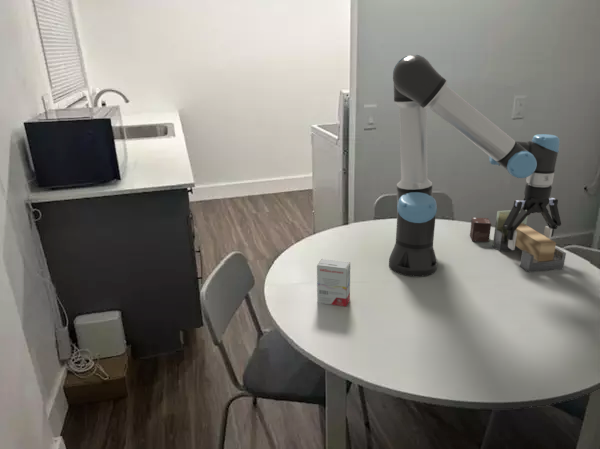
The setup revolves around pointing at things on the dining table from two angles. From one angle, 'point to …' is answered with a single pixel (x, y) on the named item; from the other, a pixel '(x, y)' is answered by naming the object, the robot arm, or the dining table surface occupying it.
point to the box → (480, 229)
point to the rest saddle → (534, 265)
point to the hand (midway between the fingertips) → (528, 247)
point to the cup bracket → (502, 231)
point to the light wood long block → (534, 243)
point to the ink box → (333, 282)
